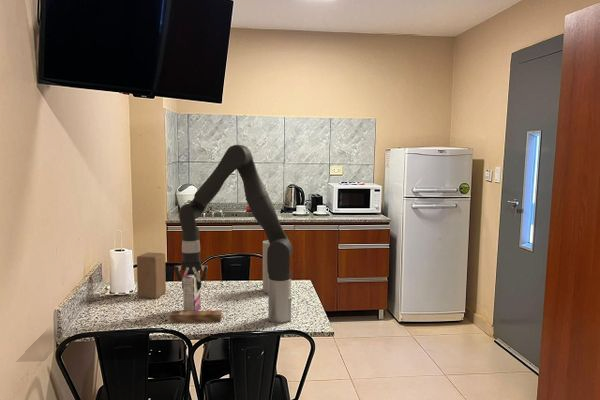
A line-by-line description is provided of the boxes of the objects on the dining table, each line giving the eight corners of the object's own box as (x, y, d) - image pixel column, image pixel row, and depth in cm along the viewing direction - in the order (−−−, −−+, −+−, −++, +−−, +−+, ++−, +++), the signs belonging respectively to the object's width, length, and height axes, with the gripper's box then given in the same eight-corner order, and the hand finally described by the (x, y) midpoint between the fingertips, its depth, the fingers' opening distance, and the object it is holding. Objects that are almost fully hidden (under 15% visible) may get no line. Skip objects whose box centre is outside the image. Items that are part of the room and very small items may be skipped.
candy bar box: (189, 307, 205) (188, 270, 204) (200, 307, 205) (200, 270, 203) (182, 315, 194) (182, 277, 192) (194, 315, 194) (194, 277, 192)
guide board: (221, 317, 194) (221, 310, 194) (220, 321, 189) (220, 314, 189) (172, 318, 193) (172, 310, 192) (170, 322, 188) (170, 314, 187)
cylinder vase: (257, 291, 232) (257, 241, 230) (274, 286, 241) (275, 238, 239) (275, 296, 224) (276, 245, 221) (292, 291, 233) (293, 241, 231)
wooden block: (156, 299, 217) (155, 257, 216) (136, 297, 219) (135, 256, 218) (166, 293, 227) (166, 252, 225) (147, 292, 229) (147, 251, 227)
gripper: (172, 252, 193) (172, 292, 194) (207, 252, 194) (207, 292, 195) (175, 249, 200) (176, 287, 202) (209, 248, 201) (209, 287, 203)
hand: (191, 289), depth 199 cm, fingers closed on candy bar box, 5 cm apart
